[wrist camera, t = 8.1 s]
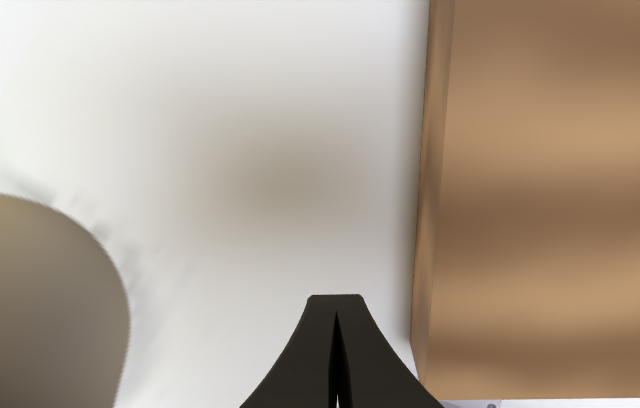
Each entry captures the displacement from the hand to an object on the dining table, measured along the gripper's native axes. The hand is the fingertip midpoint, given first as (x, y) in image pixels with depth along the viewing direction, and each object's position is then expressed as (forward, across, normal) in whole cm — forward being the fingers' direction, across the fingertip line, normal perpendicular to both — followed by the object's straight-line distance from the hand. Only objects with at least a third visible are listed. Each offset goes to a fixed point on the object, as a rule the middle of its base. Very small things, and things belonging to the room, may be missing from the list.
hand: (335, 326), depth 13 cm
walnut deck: (+10, -10, 0) cm, 14 cm away
